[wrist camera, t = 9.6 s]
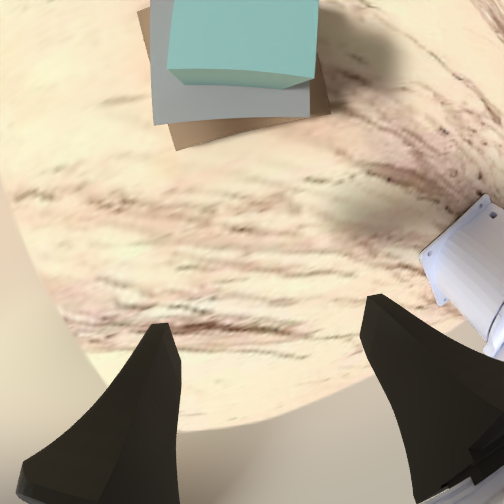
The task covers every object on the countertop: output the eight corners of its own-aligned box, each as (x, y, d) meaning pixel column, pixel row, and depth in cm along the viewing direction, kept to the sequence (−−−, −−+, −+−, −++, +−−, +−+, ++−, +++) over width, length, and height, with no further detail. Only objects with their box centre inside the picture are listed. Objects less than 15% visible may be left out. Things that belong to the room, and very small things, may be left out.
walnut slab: (286, -11, 13) (294, -23, 11) (318, 112, 17) (331, 113, 15) (145, 21, 13) (137, 11, 11) (180, 146, 17) (176, 151, 15)
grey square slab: (294, -3, 12) (305, -16, 10) (298, 115, 15) (309, 117, 13) (158, 1, 11) (150, -11, 9) (162, 123, 15) (153, 125, 13)
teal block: (287, 8, 10) (319, -33, 6) (281, 89, 12) (314, 78, 8) (192, 1, 10) (182, -45, 5) (184, 84, 12) (166, 69, 7)
